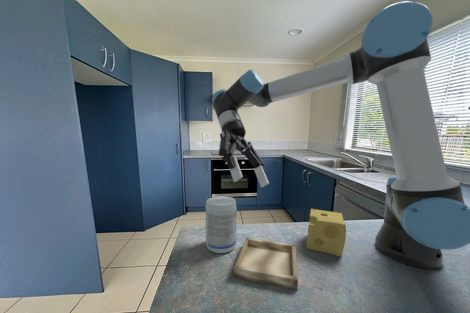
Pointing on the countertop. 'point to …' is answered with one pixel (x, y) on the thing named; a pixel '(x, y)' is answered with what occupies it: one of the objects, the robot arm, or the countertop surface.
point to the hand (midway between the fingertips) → (252, 182)
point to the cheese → (326, 232)
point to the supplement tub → (221, 224)
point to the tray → (267, 263)
